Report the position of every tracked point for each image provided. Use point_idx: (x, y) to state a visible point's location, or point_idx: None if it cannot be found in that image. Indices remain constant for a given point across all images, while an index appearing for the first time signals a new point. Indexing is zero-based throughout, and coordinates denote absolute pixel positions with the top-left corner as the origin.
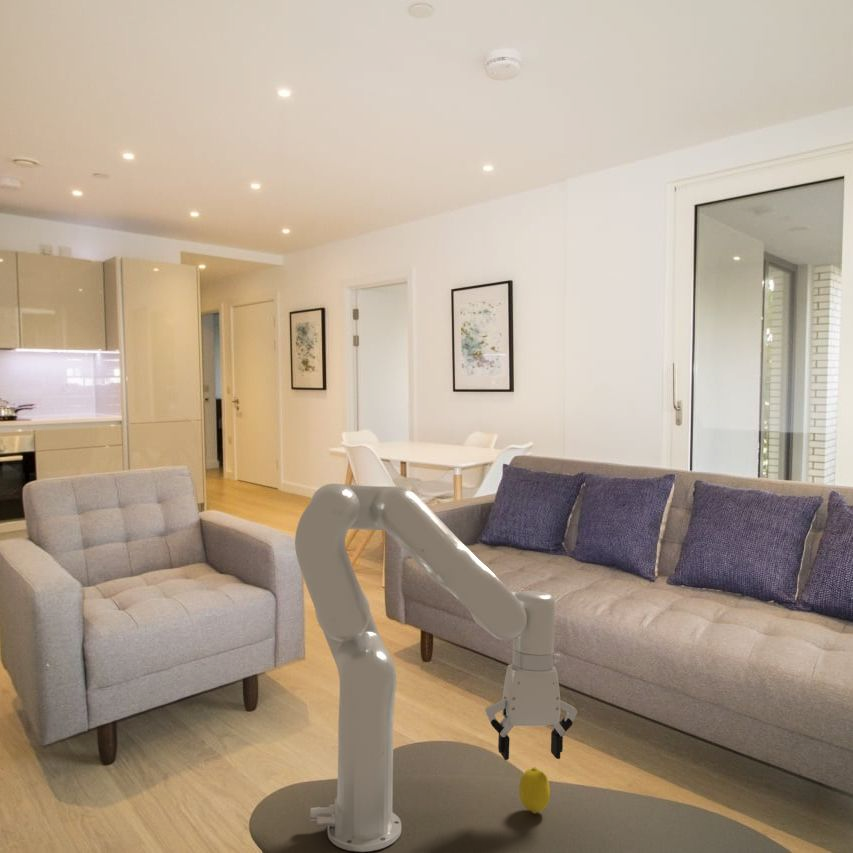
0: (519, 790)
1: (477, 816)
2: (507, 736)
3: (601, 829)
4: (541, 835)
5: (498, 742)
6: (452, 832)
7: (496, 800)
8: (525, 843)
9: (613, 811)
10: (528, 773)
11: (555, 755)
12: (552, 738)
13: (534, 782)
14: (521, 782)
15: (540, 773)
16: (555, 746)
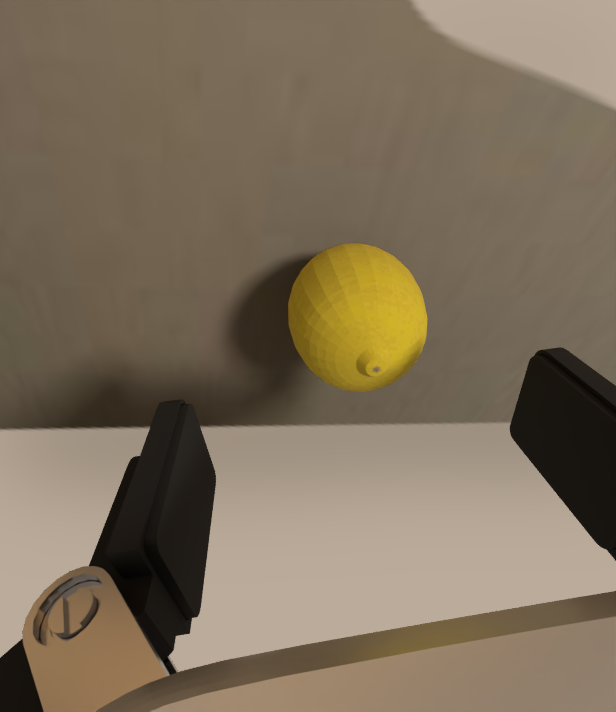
0: (288, 311)
1: (130, 294)
2: (179, 623)
3: (502, 364)
4: (326, 389)
5: (116, 498)
6: (62, 378)
7: (202, 170)
8: (275, 419)
9: (610, 272)
10: (334, 371)
11: (519, 430)
12: (603, 450)
13: (348, 390)
14: (296, 343)
15: (394, 375)
16: (555, 472)
